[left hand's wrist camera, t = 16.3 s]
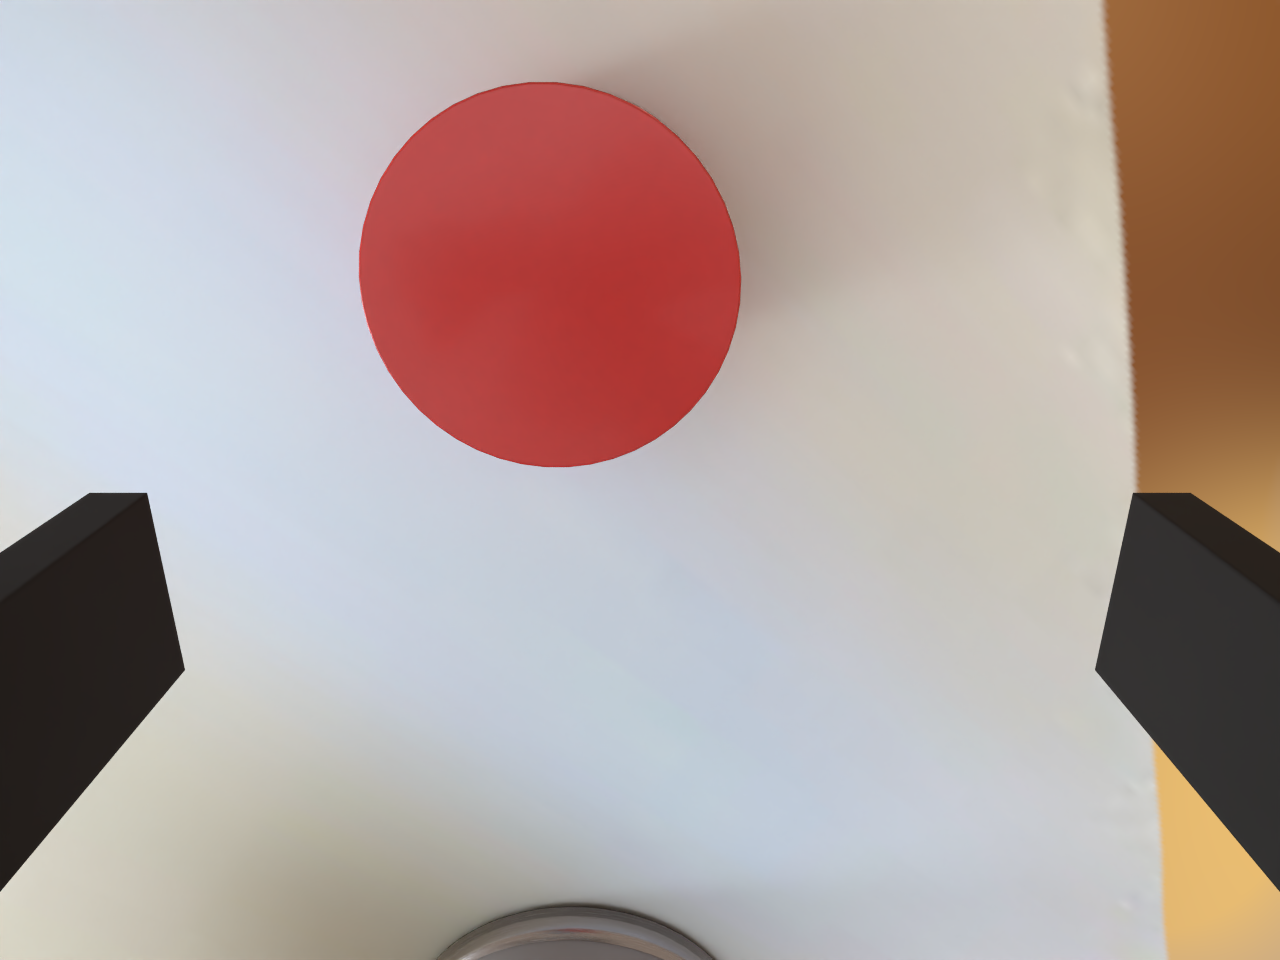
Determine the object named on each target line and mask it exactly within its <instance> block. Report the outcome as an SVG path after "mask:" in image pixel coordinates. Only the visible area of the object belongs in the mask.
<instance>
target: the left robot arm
mask: <svg viewBox="0 0 1280 960" xmlns="http://www.w3.org/2000/svg"><path fill="white" fill-rule="evenodd" d="M184 670H185V668H184V663H183V659H182V654H181V649H180V645H179V640H178V635H177V631H176V626H175V621H174V617H173V612H172V607H171V603H170V598H169V593H168V589H167V584H166V579H165V575H164V570H163V565H162V561H161V556H160V551H159V547H158V542H157V537H156V533H155V528H154V523H153V519H152V514H151V509H150V505H149V500H148V495H147V493H89V494H87V495H86V496H84V497H83V498H81V499H80V500H78V501H77V502H75V503H74V504H72V505H71V506H69V507H68V508H66V509H65V510H63V511H62V512H60V513H59V514H57V515H56V516H54V517H53V518H51V519H50V520H48V521H47V522H45V523H44V524H42V525H41V526H39V527H38V528H36V529H35V530H33V531H32V532H31V533H29V534H28V535H26V536H25V537H23V538H22V539H20V540H19V541H17V542H16V543H14V544H13V545H11V546H10V547H8V548H7V549H5V550H4V551H2V552H1V553H0V891H1V890H2V889H3V888H4V886H5V885H6V884H7V883H8V882H9V880H10V879H11V878H12V877H13V876H14V874H15V873H16V872H17V871H18V870H19V868H20V867H21V866H22V865H23V864H24V862H25V861H26V860H27V859H28V858H29V856H30V855H31V854H32V853H33V852H34V850H35V849H36V848H37V847H38V846H39V844H40V843H41V842H42V841H43V840H44V838H45V837H46V836H47V835H48V834H49V832H50V831H51V830H52V829H53V828H54V826H55V825H56V824H57V823H58V822H59V820H60V819H61V818H62V817H63V816H64V814H65V813H66V812H67V811H68V810H69V808H70V807H71V806H72V805H73V804H74V802H75V801H76V800H77V799H78V798H79V796H80V795H81V794H82V793H83V792H84V790H85V789H86V788H87V787H88V786H89V784H90V783H91V782H92V781H93V780H94V778H95V777H96V776H97V775H98V774H99V772H100V771H101V770H102V769H103V768H104V766H105V765H106V764H107V763H108V762H109V760H110V759H111V758H112V757H113V756H114V754H115V753H116V752H117V751H118V750H119V748H120V747H121V746H122V745H123V744H124V742H125V741H126V740H127V739H128V738H129V736H130V735H131V734H132V733H133V732H134V730H135V729H136V728H137V727H138V726H139V724H140V723H141V722H142V721H143V720H144V718H145V717H146V716H147V715H148V714H149V712H150V711H151V710H152V709H153V708H154V706H155V705H156V704H157V703H158V702H159V700H160V699H161V698H162V697H163V696H164V694H165V693H166V692H167V691H168V690H169V688H170V687H171V686H172V685H173V684H174V682H175V681H176V680H177V679H178V678H179V676H180V675H181V674H182V673H183V672H184ZM1095 670H1096V672H1097V673H1098V674H1099V675H1100V676H1101V678H1102V679H1103V680H1104V681H1105V682H1106V684H1107V685H1108V686H1109V687H1110V688H1111V690H1112V691H1113V692H1114V693H1115V694H1116V696H1117V697H1118V698H1119V699H1120V700H1121V702H1122V703H1123V704H1124V705H1125V706H1126V708H1127V709H1128V710H1129V711H1130V712H1131V714H1132V715H1133V716H1134V717H1135V718H1136V720H1137V721H1138V722H1139V723H1140V724H1141V726H1142V727H1143V728H1144V729H1145V730H1146V732H1147V733H1148V734H1149V735H1150V736H1151V738H1152V739H1153V740H1154V741H1155V742H1156V744H1157V745H1158V746H1159V747H1160V748H1161V750H1162V751H1163V752H1164V753H1165V754H1166V756H1167V757H1168V758H1169V759H1170V760H1171V762H1172V763H1173V764H1174V765H1175V766H1176V768H1177V769H1178V770H1179V771H1180V772H1181V774H1182V775H1183V776H1184V777H1185V778H1186V780H1187V781H1188V782H1189V783H1190V784H1191V786H1192V787H1193V788H1194V789H1195V790H1196V792H1197V793H1198V794H1199V795H1200V796H1201V798H1202V799H1203V800H1204V801H1205V802H1206V804H1207V805H1208V806H1209V807H1210V808H1211V810H1212V811H1213V812H1214V813H1215V814H1216V816H1217V817H1218V818H1219V819H1220V820H1221V822H1222V823H1223V824H1224V825H1225V826H1226V828H1227V829H1228V830H1229V831H1230V832H1231V834H1232V835H1233V836H1234V837H1235V838H1236V840H1237V841H1238V842H1239V843H1240V844H1241V846H1242V847H1243V848H1244V849H1245V850H1246V852H1247V853H1248V854H1249V855H1250V856H1251V858H1252V859H1253V860H1254V861H1255V862H1256V864H1257V865H1258V866H1259V867H1260V868H1261V870H1262V871H1263V872H1264V873H1265V874H1266V876H1267V877H1268V878H1269V879H1270V880H1271V882H1272V883H1273V884H1274V885H1275V886H1276V888H1277V889H1278V890H1279V891H1280V553H1279V552H1278V551H1276V550H1275V549H1273V548H1272V547H1270V546H1269V545H1267V544H1266V543H1264V542H1263V541H1261V540H1260V539H1258V538H1257V537H1255V536H1254V535H1252V534H1251V533H1249V532H1248V531H1246V530H1245V529H1244V528H1242V527H1241V526H1239V525H1238V524H1236V523H1235V522H1233V521H1232V520H1230V519H1229V518H1227V517H1226V516H1224V515H1223V514H1221V513H1220V512H1218V511H1217V510H1215V509H1214V508H1212V507H1211V506H1209V505H1208V504H1206V503H1205V502H1203V501H1202V500H1200V499H1199V498H1197V497H1196V496H1194V495H1193V494H1191V493H1133V495H1132V500H1131V505H1130V509H1129V514H1128V519H1127V523H1126V528H1125V533H1124V537H1123V542H1122V547H1121V551H1120V556H1119V561H1118V565H1117V570H1116V575H1115V579H1114V584H1113V589H1112V593H1111V598H1110V603H1109V607H1108V612H1107V617H1106V621H1105V626H1104V631H1103V635H1102V640H1101V645H1100V649H1099V654H1098V659H1097V663H1096V668H1095ZM436 960H713V959H712V958H711V957H710V956H709V955H708V954H707V953H706V952H705V951H703V950H702V949H701V948H700V947H698V946H697V945H696V944H695V943H693V942H692V941H690V940H689V939H687V938H686V937H684V936H682V935H681V934H679V933H677V932H675V931H673V930H671V929H669V928H667V927H665V926H663V925H660V924H658V923H656V922H653V921H650V920H647V919H645V918H642V917H639V916H635V915H631V914H627V913H623V912H618V911H613V910H607V909H599V908H589V907H555V908H546V909H537V910H532V911H527V912H521V913H518V914H514V915H510V916H507V917H503V918H501V919H498V920H495V921H493V922H490V923H488V924H486V925H483V926H481V927H479V928H477V929H475V930H473V931H472V932H470V933H468V934H467V935H465V936H463V937H462V938H460V939H459V940H458V941H456V942H455V943H453V944H452V945H451V946H450V947H449V948H447V949H446V950H445V951H444V952H443V953H442V954H441V955H440V956H439V957H438V958H437V959H436Z"/></svg>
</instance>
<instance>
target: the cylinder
mask: <svg viewBox="0 0 1280 960" xmlns="http://www.w3.org/2000/svg"><path fill="white" fill-rule="evenodd" d="M359 282H360V290H361V299H362V305H363V309H364V313H365V317H366V321H367V325H368V328H369V331H370V333H371V336H372V338H373V341H374V344H375V346H376V349H377V351H378V353H379V355H380V357H381V358H382V360H383V362H384V364H385V366H386V368H387V370H388V371H389V373H390V374H391V376H392V377H393V379H394V380H395V382H396V383H397V384H398V386H399V387H400V389H401V390H402V391H403V393H404V394H405V395H406V396H407V397H408V398H409V399H410V400H411V402H412V403H413V404H414V405H415V406H416V407H417V408H418V409H419V410H420V411H421V412H422V413H423V414H424V415H425V416H427V417H428V418H429V419H430V420H431V421H432V422H433V423H435V424H436V425H437V426H438V427H440V428H441V429H443V430H444V431H446V432H447V433H448V434H450V435H451V436H453V437H454V438H456V439H457V440H459V441H461V442H463V443H465V444H467V445H469V446H471V447H473V448H475V449H476V450H479V451H481V452H484V453H487V454H489V455H492V456H494V457H497V458H500V459H504V460H508V461H512V462H516V463H520V464H526V465H533V466H541V467H573V466H581V465H590V464H594V463H598V462H602V461H606V460H610V459H614V458H617V457H619V456H622V455H624V454H627V453H630V452H632V451H635V450H637V449H639V448H640V447H642V446H644V445H646V444H648V443H650V442H652V441H653V440H655V439H657V438H658V437H659V436H661V435H662V434H664V433H665V432H666V431H668V430H669V429H671V428H672V427H673V426H675V425H676V424H677V423H678V422H679V421H680V420H681V419H682V418H683V417H684V416H685V415H686V414H687V413H688V412H690V411H691V409H692V408H693V407H694V406H695V405H696V403H697V402H698V401H699V400H700V399H701V397H702V396H703V395H704V394H705V393H706V391H707V390H708V388H709V386H710V385H711V383H712V382H713V380H714V378H715V377H716V375H717V374H718V372H719V370H720V368H721V366H722V363H723V361H724V359H725V357H726V355H727V353H728V350H729V347H730V344H731V341H732V338H733V335H734V331H735V328H736V323H737V317H738V312H739V306H740V292H741V271H740V259H739V250H738V246H737V241H736V237H735V232H734V228H733V225H732V222H731V219H730V216H729V214H728V211H727V208H726V205H725V203H724V201H723V199H722V197H721V195H720V193H719V191H718V189H717V187H716V185H715V183H714V181H713V179H712V178H711V176H710V175H709V174H708V172H707V171H706V169H705V168H704V166H703V165H702V164H701V162H700V161H699V159H698V158H697V157H696V155H695V154H694V153H693V152H692V151H691V150H690V149H689V148H688V147H687V146H686V145H685V143H684V142H683V141H682V140H681V139H680V138H679V137H678V136H677V135H676V134H675V133H673V132H672V131H671V130H670V129H669V128H667V127H666V126H665V125H664V124H663V123H661V122H660V121H659V120H658V119H657V118H655V117H654V116H653V115H651V114H649V113H648V112H646V111H645V110H643V109H641V108H640V107H638V106H636V105H634V104H632V103H629V102H627V101H625V100H623V99H620V98H618V97H616V96H613V95H611V94H609V93H605V92H602V91H598V90H595V89H591V88H588V87H585V86H579V85H572V84H565V83H558V82H527V83H520V84H513V85H506V86H501V87H498V88H494V89H491V90H487V91H484V92H481V93H477V94H475V95H473V96H471V97H469V98H466V99H464V100H462V101H460V102H458V103H456V104H453V105H452V106H450V107H449V108H447V109H446V110H444V111H443V112H441V113H439V114H438V115H436V116H435V117H433V118H432V119H430V120H429V121H428V122H427V123H426V124H425V125H424V126H423V127H421V128H420V129H419V130H418V131H417V132H416V133H415V134H413V135H412V136H411V137H410V139H409V140H408V141H407V142H406V143H405V144H404V146H403V147H402V148H401V149H400V150H399V152H398V153H397V154H396V155H395V156H394V158H393V159H392V161H391V163H390V164H389V166H388V167H387V169H386V171H385V172H384V174H383V175H382V177H381V179H380V181H379V183H378V185H377V188H376V190H375V192H374V194H373V197H372V199H371V201H370V204H369V208H368V211H367V215H366V218H365V221H364V225H363V230H362V237H361V244H360V250H359Z"/></svg>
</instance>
